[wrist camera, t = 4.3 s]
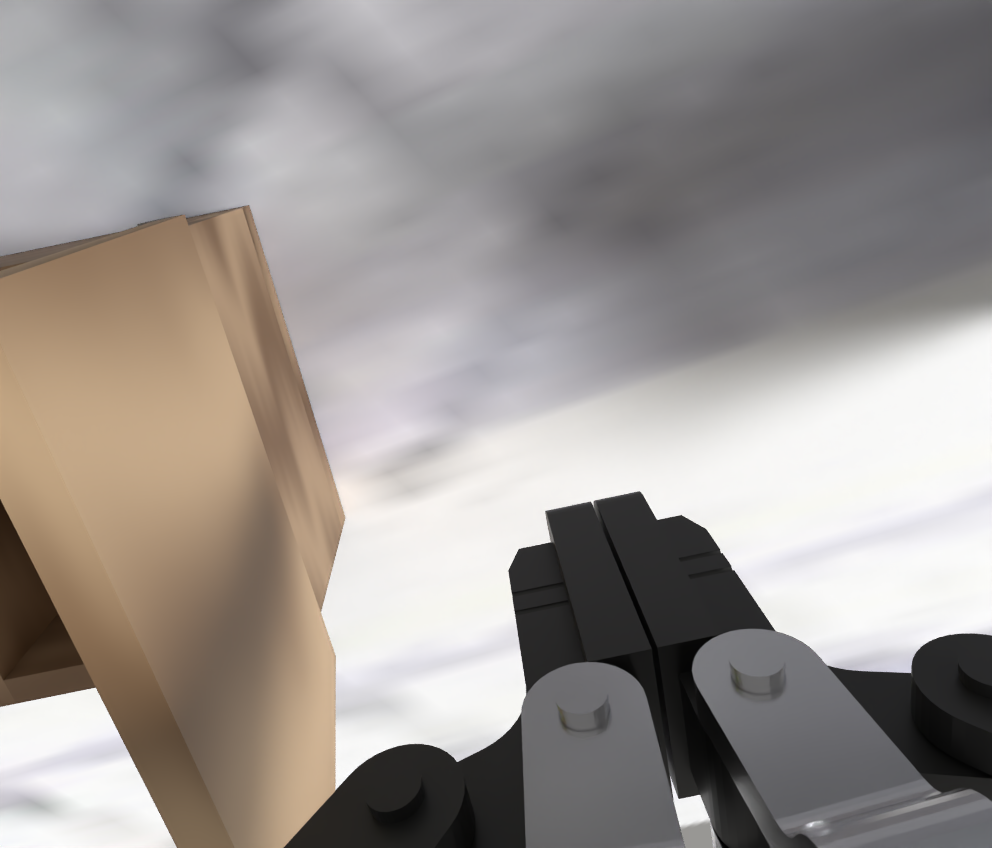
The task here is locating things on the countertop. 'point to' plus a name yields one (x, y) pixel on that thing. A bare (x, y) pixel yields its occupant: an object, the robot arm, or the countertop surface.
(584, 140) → the countertop surface
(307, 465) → the box
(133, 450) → the lid
